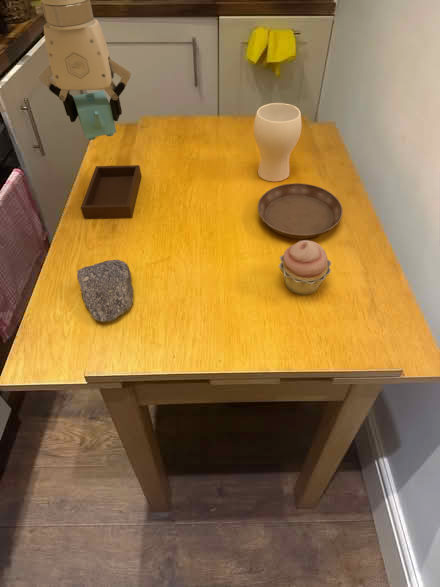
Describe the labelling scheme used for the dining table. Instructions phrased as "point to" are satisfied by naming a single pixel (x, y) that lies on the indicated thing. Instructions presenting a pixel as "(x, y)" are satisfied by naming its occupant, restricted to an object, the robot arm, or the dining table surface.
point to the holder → (112, 192)
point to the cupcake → (304, 267)
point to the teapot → (95, 114)
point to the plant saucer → (300, 210)
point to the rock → (106, 289)
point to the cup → (276, 138)
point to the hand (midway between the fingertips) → (95, 118)
